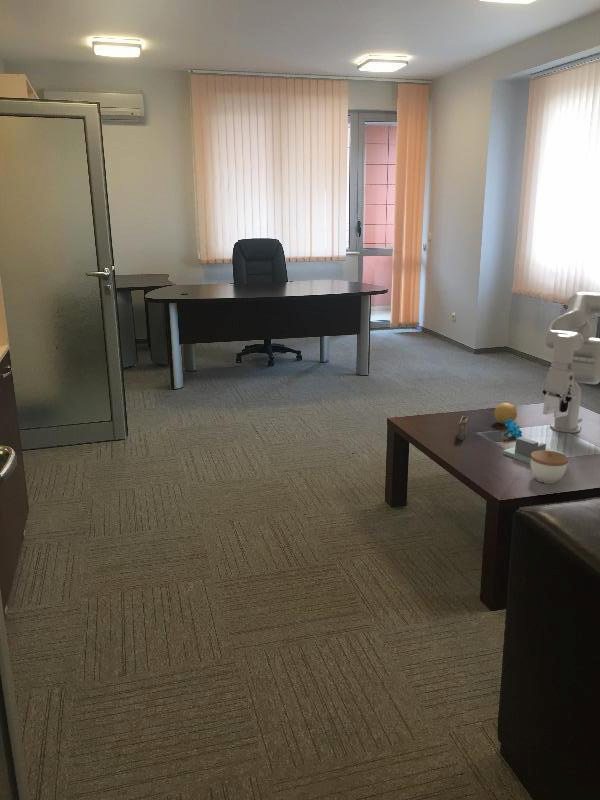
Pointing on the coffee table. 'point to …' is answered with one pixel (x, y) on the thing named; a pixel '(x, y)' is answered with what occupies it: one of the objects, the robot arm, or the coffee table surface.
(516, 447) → the plate with grey stand
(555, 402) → the grey box with knob
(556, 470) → the lidded bowl
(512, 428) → the gear
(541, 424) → the coffee table surface
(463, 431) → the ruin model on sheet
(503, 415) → the stress ball
